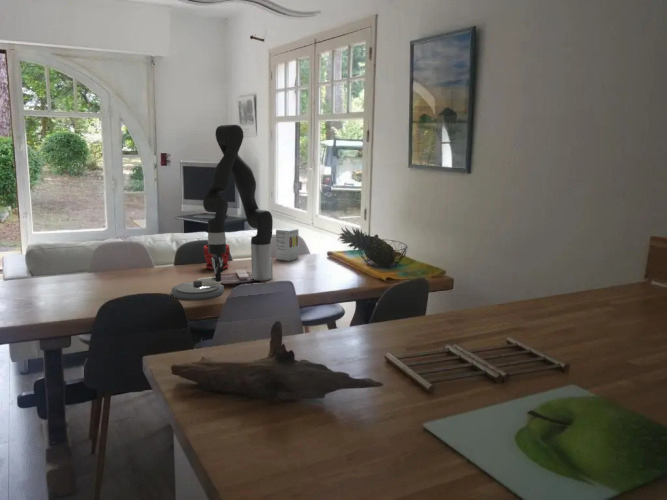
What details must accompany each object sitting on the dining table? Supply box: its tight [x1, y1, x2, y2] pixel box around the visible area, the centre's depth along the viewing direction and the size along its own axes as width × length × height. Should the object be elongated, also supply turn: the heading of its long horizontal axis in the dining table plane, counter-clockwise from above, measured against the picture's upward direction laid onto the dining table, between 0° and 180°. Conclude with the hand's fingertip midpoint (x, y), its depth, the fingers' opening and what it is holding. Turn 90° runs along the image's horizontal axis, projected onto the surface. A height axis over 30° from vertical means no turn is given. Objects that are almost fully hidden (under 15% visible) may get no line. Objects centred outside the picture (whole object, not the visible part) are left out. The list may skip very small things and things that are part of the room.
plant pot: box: [203, 244, 231, 271], centre depth 295 cm, size 13×13×12 cm
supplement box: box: [275, 227, 299, 262], centre depth 318 cm, size 10×9×17 cm
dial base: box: [171, 283, 225, 301], centre depth 248 cm, size 22×22×2 cm
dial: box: [175, 276, 222, 294], centre depth 248 cm, size 20×18×4 cm
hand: (218, 281), depth 250 cm, fingers closed
